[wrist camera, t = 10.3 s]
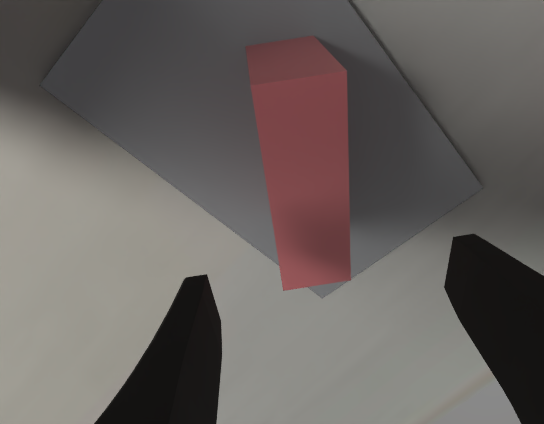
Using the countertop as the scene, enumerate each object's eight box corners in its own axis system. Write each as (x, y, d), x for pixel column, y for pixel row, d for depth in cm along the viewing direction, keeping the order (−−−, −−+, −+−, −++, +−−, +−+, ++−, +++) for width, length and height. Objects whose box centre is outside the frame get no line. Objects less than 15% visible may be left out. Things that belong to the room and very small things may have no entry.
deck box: (272, 213, 22) (283, 290, 17) (245, 46, 17) (250, 85, 12) (324, 205, 22) (350, 280, 17) (313, 35, 17) (346, 70, 12)
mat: (44, 81, 17) (39, 85, 17) (226, -164, 13) (226, -168, 13) (320, 293, 27) (322, 298, 26) (478, 183, 23) (483, 187, 22)
